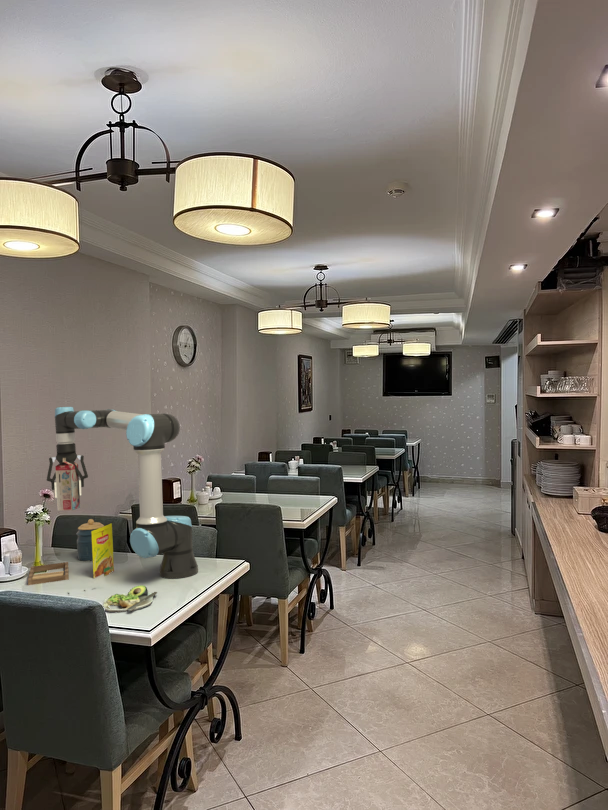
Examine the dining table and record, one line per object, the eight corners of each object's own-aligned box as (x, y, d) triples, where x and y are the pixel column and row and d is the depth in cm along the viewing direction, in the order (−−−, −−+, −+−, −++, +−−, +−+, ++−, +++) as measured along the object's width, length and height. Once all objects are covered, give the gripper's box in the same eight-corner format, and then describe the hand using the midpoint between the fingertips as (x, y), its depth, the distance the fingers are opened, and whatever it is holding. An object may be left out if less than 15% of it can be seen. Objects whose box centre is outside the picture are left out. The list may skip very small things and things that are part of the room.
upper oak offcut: (63, 579, 232) (62, 574, 232) (32, 583, 229) (32, 578, 229) (64, 575, 237) (63, 570, 237) (34, 579, 233) (34, 574, 233)
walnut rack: (68, 583, 231) (68, 574, 231) (28, 588, 226) (28, 579, 226) (68, 570, 251) (68, 561, 251) (31, 575, 245) (30, 566, 245)
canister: (78, 555, 275) (76, 518, 275) (107, 552, 279) (105, 515, 279) (76, 562, 263) (74, 523, 263) (107, 559, 267) (105, 520, 267)
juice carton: (80, 507, 254) (77, 456, 254) (72, 510, 247) (70, 457, 247) (65, 507, 254) (63, 456, 254) (57, 510, 248) (55, 458, 248)
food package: (95, 582, 231) (92, 531, 231) (92, 582, 231) (90, 531, 231) (115, 571, 246) (112, 523, 246) (112, 570, 246) (110, 523, 246)
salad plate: (155, 612, 194) (154, 598, 194) (98, 619, 191) (97, 604, 191) (158, 594, 213) (157, 581, 213) (106, 599, 210) (105, 587, 210)
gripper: (92, 441, 258) (95, 492, 258) (38, 444, 250) (40, 497, 250) (93, 441, 251) (95, 494, 251) (37, 445, 243) (40, 500, 243)
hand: (68, 496), depth 251 cm, fingers closed on juice carton, 9 cm apart
